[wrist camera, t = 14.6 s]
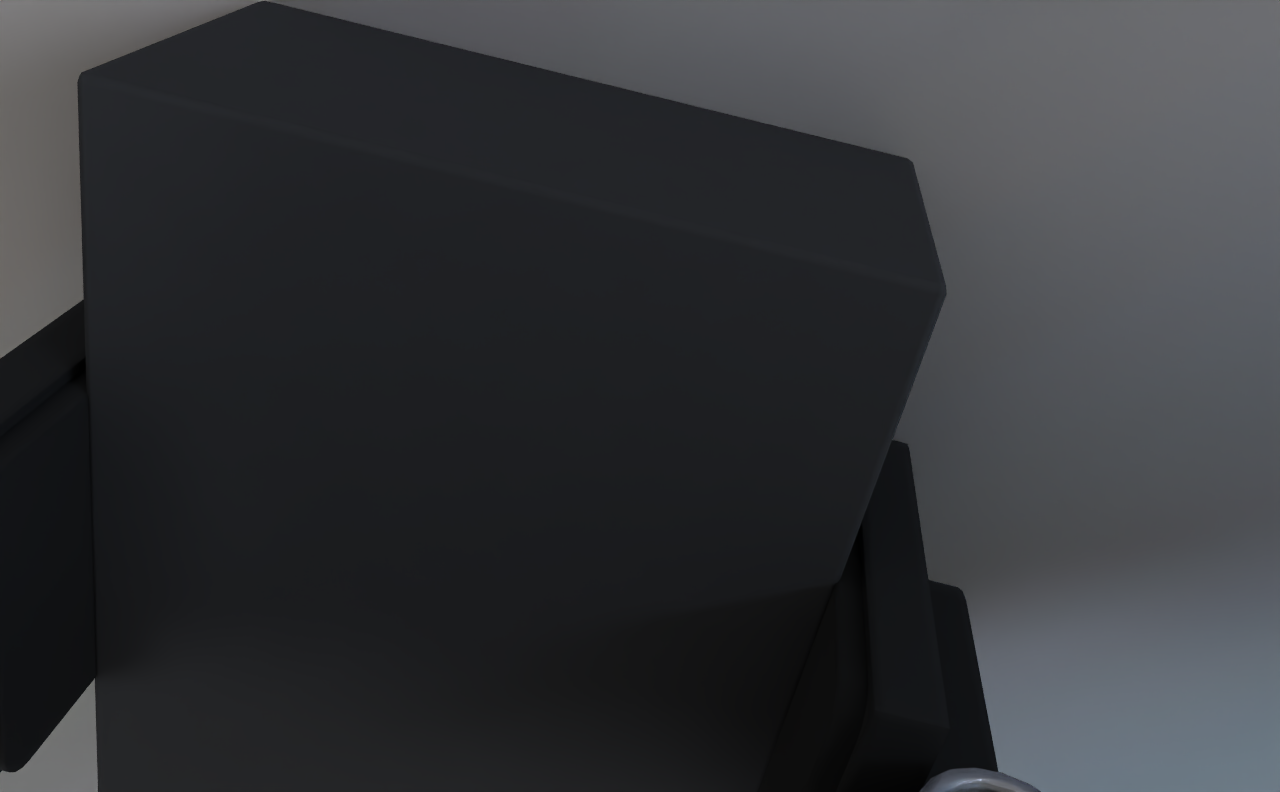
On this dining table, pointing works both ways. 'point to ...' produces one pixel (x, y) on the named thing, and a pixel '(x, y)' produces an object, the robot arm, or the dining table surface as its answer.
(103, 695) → the pad
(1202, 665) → the dining table surface
